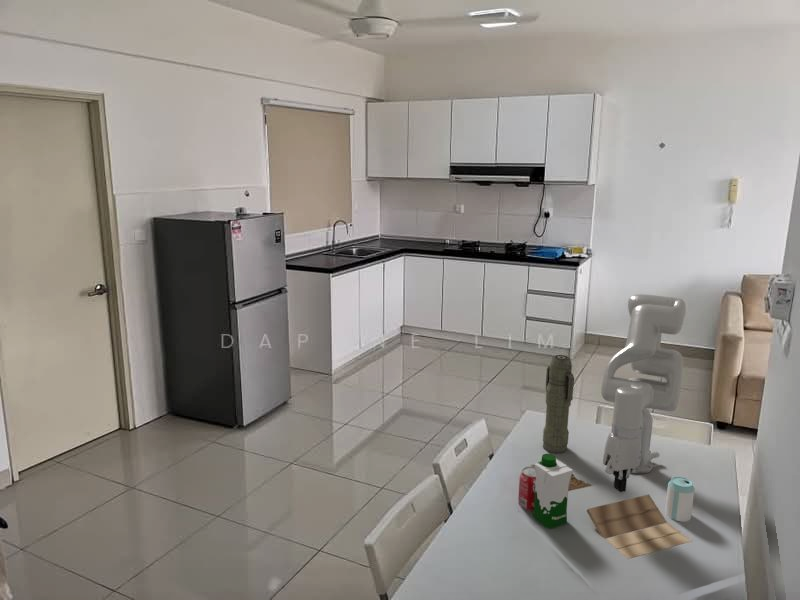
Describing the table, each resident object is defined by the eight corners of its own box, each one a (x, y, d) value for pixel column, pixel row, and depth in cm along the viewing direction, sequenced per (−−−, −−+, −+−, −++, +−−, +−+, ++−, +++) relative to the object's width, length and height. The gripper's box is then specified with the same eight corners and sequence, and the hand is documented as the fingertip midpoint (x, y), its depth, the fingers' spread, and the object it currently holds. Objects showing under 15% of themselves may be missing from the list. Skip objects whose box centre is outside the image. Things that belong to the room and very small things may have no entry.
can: (670, 508, 185) (674, 472, 182) (694, 518, 180) (699, 481, 177) (660, 517, 180) (664, 481, 177) (684, 528, 175) (689, 490, 172)
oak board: (667, 526, 176) (667, 522, 175) (691, 544, 167) (692, 540, 167) (605, 542, 168) (605, 538, 168) (627, 562, 160) (628, 558, 159)
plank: (647, 496, 182) (649, 494, 182) (665, 524, 176) (667, 522, 176) (586, 510, 175) (588, 508, 174) (603, 540, 169) (604, 538, 168)
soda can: (543, 504, 186) (546, 468, 184) (538, 516, 180) (541, 479, 177) (521, 498, 189) (523, 463, 187) (515, 510, 183) (517, 474, 180)
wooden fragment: (606, 493, 193) (606, 490, 193) (583, 504, 187) (583, 501, 187) (544, 460, 214) (545, 458, 214) (522, 469, 208) (522, 466, 208)
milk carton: (550, 511, 183) (555, 450, 178) (572, 527, 175) (577, 463, 170) (527, 518, 179) (531, 456, 174) (548, 535, 171) (553, 470, 166)
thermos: (560, 457, 215) (567, 364, 207) (534, 445, 224) (540, 355, 216) (575, 450, 221) (583, 359, 212) (549, 438, 230) (556, 350, 222)
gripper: (637, 422, 179) (631, 479, 182) (595, 428, 173) (590, 487, 177) (656, 432, 172) (649, 491, 176) (613, 439, 167) (607, 500, 170)
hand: (619, 489), depth 176 cm, fingers closed
